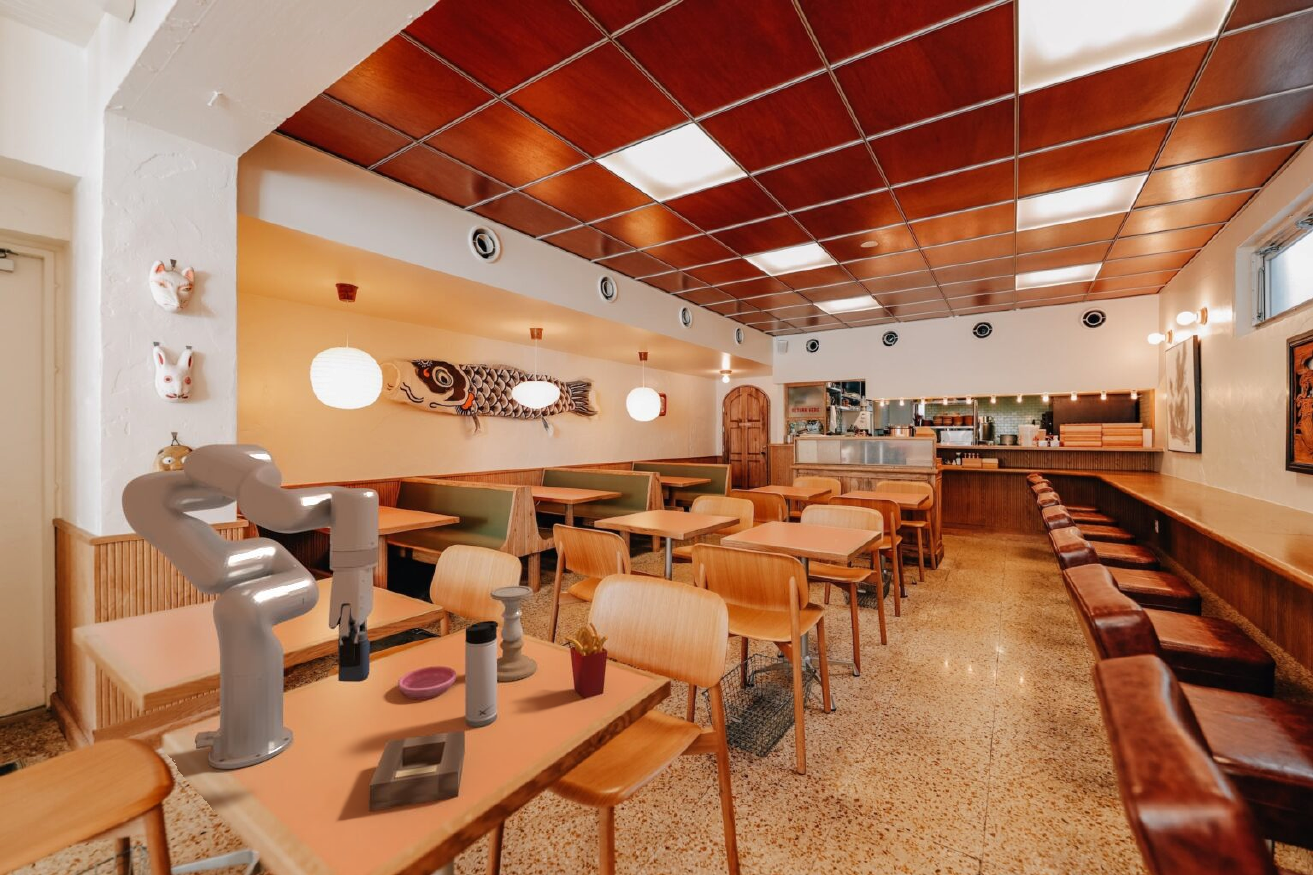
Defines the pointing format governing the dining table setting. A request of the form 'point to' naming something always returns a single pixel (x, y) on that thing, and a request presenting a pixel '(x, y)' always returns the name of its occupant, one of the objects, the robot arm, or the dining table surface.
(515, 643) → the candle holder
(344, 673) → the vaping device
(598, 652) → the french fries
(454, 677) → the saucer
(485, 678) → the travel mug
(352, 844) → the dining table surface
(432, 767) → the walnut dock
